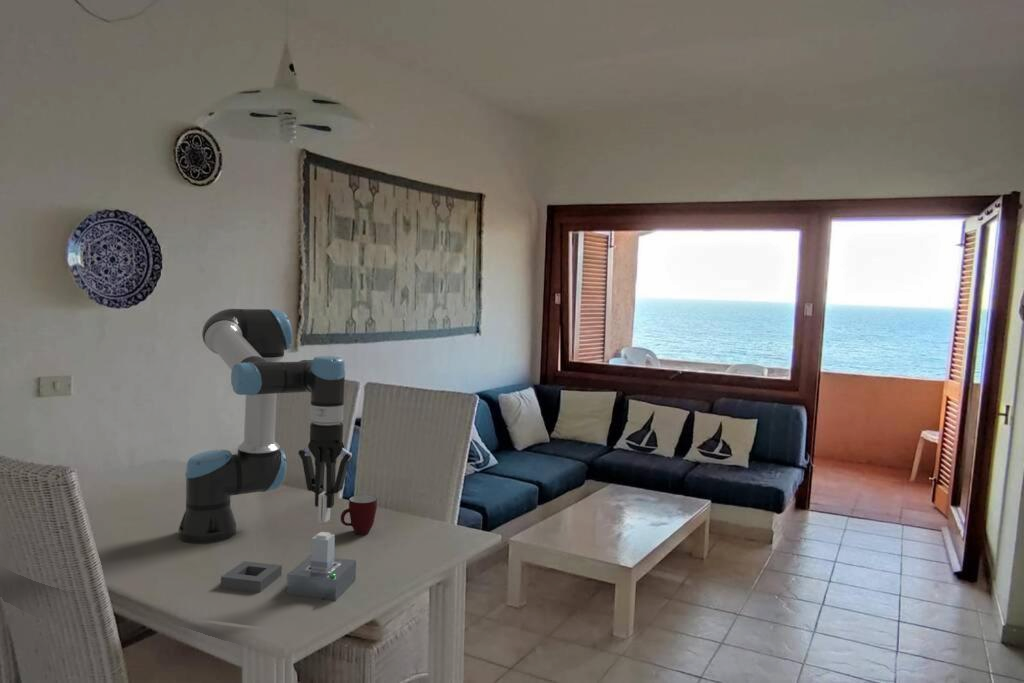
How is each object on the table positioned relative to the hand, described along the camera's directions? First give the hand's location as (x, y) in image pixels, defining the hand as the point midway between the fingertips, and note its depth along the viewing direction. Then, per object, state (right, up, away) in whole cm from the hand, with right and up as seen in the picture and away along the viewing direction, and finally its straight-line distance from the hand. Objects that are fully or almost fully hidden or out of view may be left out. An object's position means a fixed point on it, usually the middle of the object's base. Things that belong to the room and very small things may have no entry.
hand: (324, 520), depth 164 cm
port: (-1, -16, +1) cm, 16 cm away
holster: (-18, -16, +2) cm, 24 cm away
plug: (-1, -16, +1) cm, 16 cm away
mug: (-1, -14, +39) cm, 42 cm away
